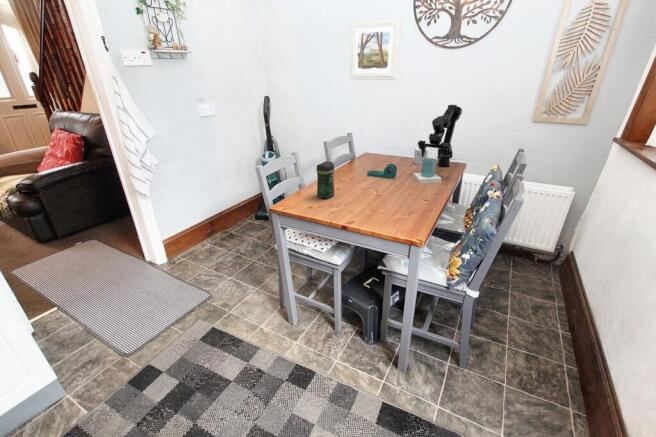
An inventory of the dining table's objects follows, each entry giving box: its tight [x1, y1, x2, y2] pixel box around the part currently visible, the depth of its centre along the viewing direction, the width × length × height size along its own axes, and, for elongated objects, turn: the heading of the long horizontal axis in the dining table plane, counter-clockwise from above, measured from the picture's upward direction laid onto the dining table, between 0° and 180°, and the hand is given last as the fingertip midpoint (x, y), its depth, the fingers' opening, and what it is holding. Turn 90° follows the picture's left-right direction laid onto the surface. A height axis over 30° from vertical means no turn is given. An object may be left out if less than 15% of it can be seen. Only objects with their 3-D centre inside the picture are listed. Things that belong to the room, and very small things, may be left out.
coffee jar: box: [316, 160, 335, 199], centre depth 159 cm, size 10×8×19 cm
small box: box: [413, 147, 429, 165], centre depth 214 cm, size 8×6×10 cm
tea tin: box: [420, 157, 437, 178], centre depth 181 cm, size 6×6×10 cm
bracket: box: [366, 163, 398, 180], centre depth 191 cm, size 18×7×8 cm, turn 67°
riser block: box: [412, 172, 442, 184], centre depth 184 cm, size 13×13×3 cm
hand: (429, 158), depth 180 cm, fingers open, 9 cm apart
